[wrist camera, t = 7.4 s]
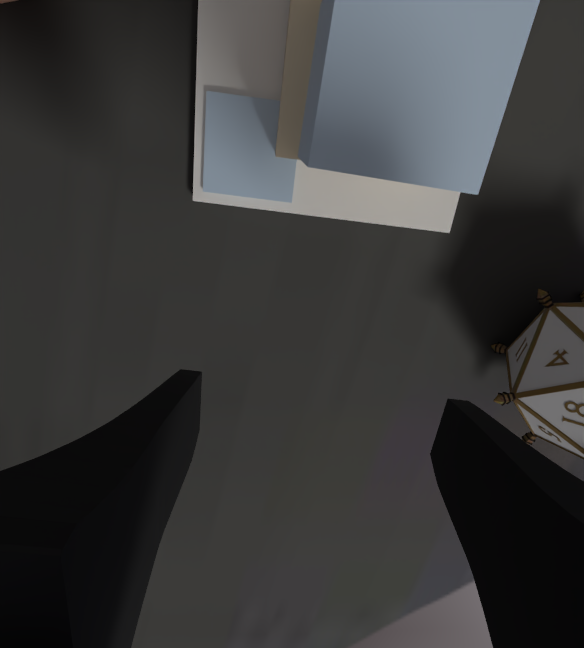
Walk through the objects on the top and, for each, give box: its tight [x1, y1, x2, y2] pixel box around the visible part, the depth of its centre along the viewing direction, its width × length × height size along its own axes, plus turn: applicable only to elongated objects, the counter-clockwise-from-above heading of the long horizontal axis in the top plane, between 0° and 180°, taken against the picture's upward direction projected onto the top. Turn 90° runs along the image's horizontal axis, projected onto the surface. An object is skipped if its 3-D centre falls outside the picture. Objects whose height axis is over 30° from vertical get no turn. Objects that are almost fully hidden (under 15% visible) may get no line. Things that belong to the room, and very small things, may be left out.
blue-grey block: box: [298, 0, 540, 195], centre depth 12 cm, size 4×4×5 cm
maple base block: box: [275, 0, 322, 160], centre depth 16 cm, size 7×7×4 cm
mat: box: [193, 0, 460, 233], centre depth 18 cm, size 12×12×1 cm
